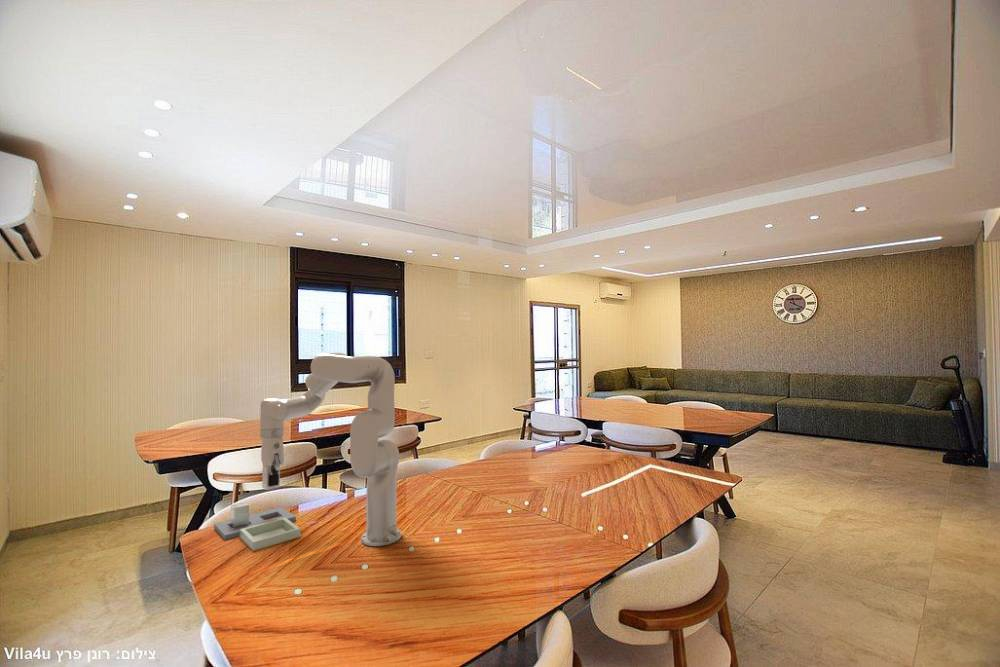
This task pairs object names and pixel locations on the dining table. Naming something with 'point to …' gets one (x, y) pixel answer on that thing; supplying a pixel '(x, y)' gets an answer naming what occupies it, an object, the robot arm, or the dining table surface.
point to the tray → (269, 533)
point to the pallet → (252, 522)
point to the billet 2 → (266, 477)
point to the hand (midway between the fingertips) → (271, 483)
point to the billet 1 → (239, 515)
